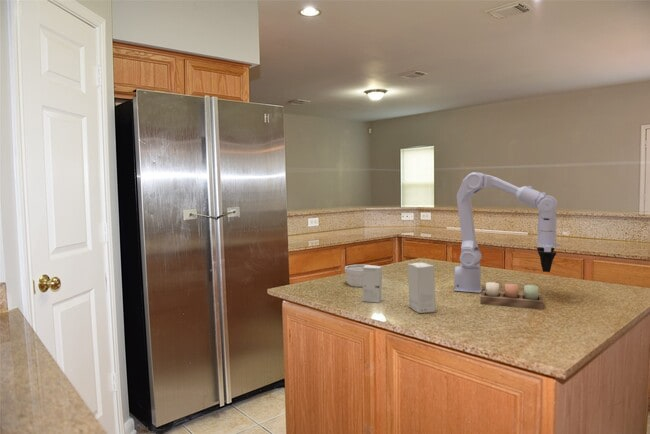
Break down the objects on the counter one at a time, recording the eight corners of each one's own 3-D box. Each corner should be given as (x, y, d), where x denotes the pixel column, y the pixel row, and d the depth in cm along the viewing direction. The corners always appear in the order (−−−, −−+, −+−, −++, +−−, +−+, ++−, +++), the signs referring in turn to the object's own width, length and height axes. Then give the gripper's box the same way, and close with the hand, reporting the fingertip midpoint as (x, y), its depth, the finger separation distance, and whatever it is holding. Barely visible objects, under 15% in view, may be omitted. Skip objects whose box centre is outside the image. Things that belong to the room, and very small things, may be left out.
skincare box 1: (362, 301, 158) (362, 267, 157) (365, 298, 162) (365, 264, 161) (380, 302, 156) (379, 267, 155) (382, 299, 160) (382, 265, 159)
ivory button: (485, 296, 154) (485, 284, 154) (486, 293, 158) (486, 281, 158) (498, 297, 153) (498, 285, 152) (499, 294, 157) (499, 282, 156)
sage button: (524, 299, 150) (524, 287, 149) (524, 296, 154) (524, 284, 153) (538, 300, 148) (538, 288, 148) (537, 297, 152) (538, 285, 152)
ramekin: (377, 280, 191) (377, 264, 190) (377, 288, 178) (377, 270, 177) (345, 280, 192) (345, 264, 191) (343, 287, 179) (343, 270, 178)
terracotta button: (504, 297, 152) (504, 285, 152) (504, 294, 156) (505, 283, 156) (518, 298, 150) (518, 286, 150) (518, 295, 154) (518, 284, 154)
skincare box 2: (435, 312, 144) (436, 265, 143) (418, 313, 143) (418, 266, 141) (424, 305, 152) (424, 261, 151) (407, 306, 151) (407, 262, 150)
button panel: (480, 303, 153) (480, 296, 153) (482, 297, 161) (482, 290, 161) (543, 309, 145) (543, 301, 145) (542, 302, 154) (542, 295, 153)
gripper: (561, 233, 149) (560, 274, 150) (558, 229, 163) (556, 266, 164) (537, 232, 152) (536, 273, 153) (536, 228, 165) (535, 265, 166)
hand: (545, 269), depth 159 cm, fingers open, 7 cm apart
